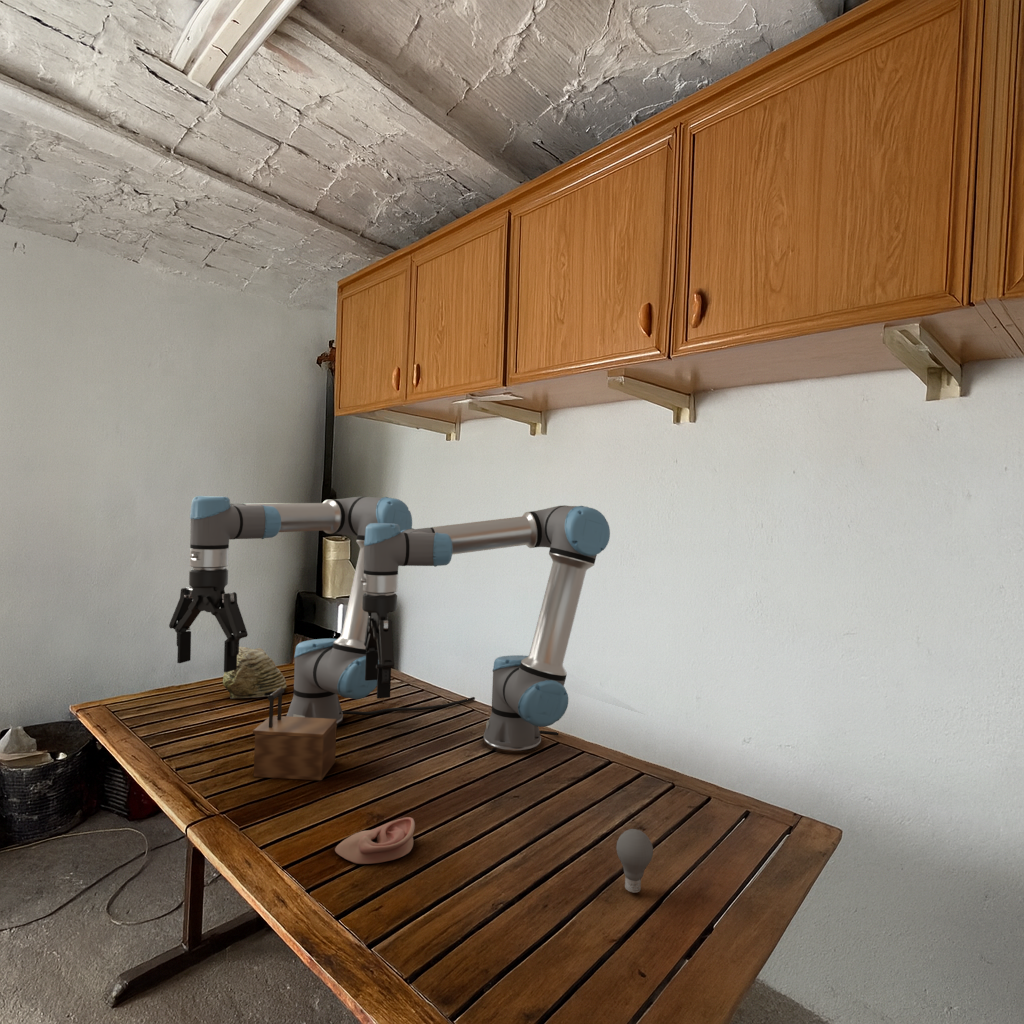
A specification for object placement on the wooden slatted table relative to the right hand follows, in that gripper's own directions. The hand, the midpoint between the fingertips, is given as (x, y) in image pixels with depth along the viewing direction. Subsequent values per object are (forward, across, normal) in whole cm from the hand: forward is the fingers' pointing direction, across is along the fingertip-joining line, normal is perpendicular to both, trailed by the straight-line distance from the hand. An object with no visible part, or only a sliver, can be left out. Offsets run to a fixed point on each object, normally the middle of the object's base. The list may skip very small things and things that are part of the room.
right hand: (377, 688), depth 140 cm
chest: (+21, -13, -16) cm, 29 cm away
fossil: (+21, -72, -23) cm, 79 cm away
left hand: (-5, -11, -35) cm, 37 cm away
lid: (+12, -13, -16) cm, 23 cm away
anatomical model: (+21, +26, -5) cm, 34 cm away
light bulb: (+22, +52, +33) cm, 66 cm away
